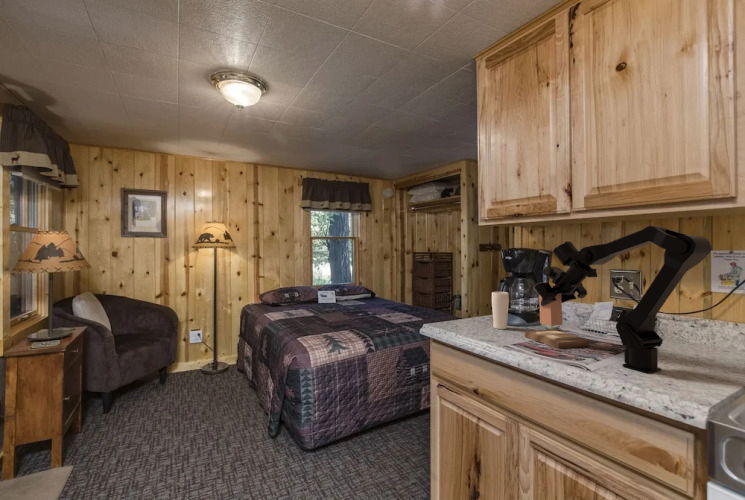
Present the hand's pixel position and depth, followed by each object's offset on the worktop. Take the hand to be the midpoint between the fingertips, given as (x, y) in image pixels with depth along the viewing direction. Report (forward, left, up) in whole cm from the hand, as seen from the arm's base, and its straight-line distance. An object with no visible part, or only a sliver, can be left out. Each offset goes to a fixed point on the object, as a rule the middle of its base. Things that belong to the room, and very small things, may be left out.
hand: (547, 304), depth 126 cm
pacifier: (+13, -18, -13) cm, 26 cm away
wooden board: (-2, -2, -13) cm, 13 cm away
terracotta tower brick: (-1, 0, -7) cm, 7 cm away
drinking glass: (+22, +1, -13) cm, 26 cm away
